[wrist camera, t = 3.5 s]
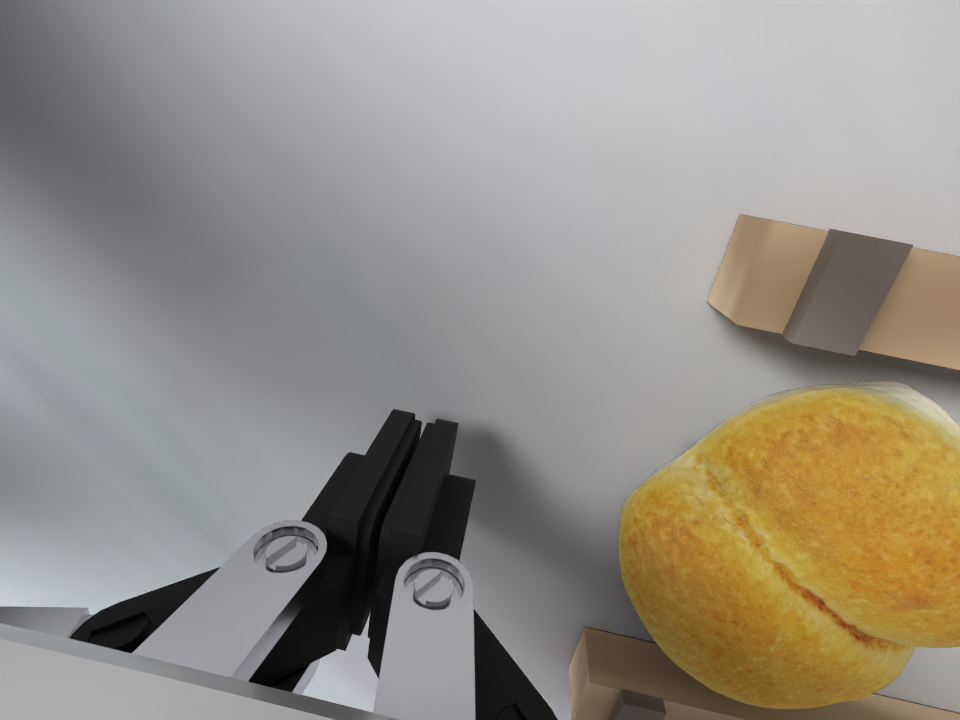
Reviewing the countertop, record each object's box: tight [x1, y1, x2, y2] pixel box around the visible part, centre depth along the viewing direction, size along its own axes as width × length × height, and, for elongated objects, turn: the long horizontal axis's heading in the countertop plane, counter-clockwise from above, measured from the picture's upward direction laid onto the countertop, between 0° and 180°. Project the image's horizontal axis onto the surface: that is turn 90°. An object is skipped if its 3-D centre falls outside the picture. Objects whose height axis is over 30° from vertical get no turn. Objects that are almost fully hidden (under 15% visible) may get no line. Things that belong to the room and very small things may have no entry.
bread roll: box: [618, 381, 960, 709], centre depth 11 cm, size 8×9×4 cm
